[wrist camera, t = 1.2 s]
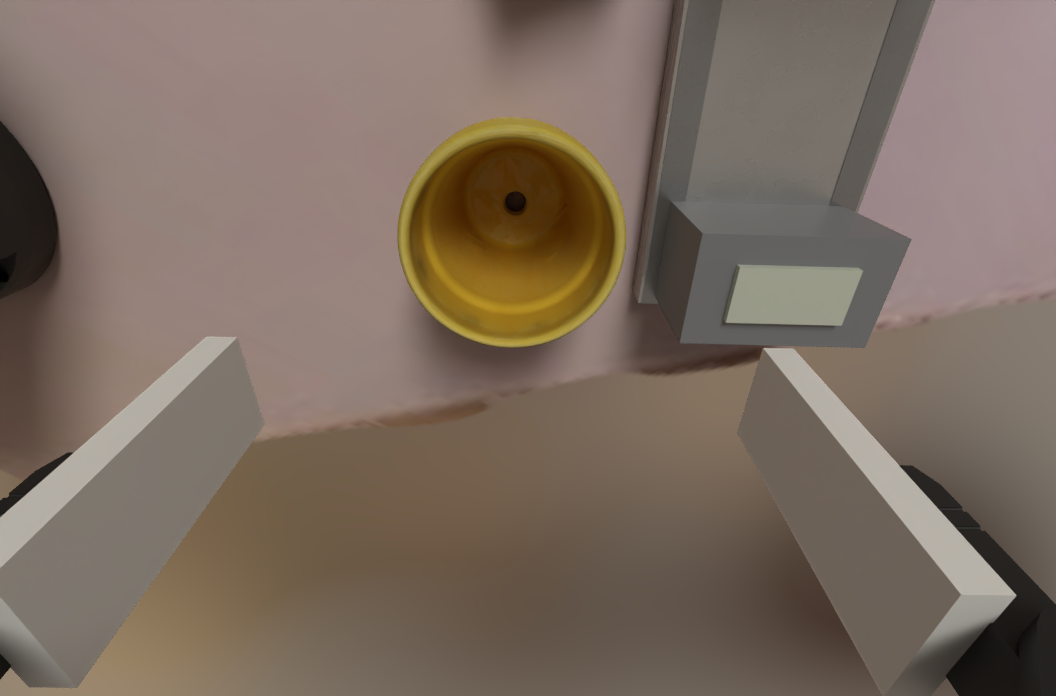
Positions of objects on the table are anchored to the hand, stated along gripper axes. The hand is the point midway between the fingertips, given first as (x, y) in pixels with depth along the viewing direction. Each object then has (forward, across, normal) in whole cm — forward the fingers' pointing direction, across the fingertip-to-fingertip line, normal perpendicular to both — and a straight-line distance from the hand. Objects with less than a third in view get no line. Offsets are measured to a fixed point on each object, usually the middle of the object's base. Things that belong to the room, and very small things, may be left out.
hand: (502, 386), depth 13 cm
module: (+18, +14, -3) cm, 23 cm away
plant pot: (+21, 0, 0) cm, 21 cm away
